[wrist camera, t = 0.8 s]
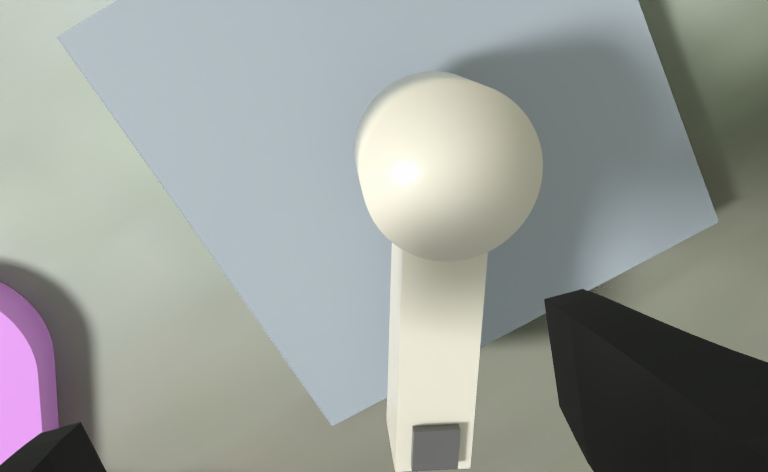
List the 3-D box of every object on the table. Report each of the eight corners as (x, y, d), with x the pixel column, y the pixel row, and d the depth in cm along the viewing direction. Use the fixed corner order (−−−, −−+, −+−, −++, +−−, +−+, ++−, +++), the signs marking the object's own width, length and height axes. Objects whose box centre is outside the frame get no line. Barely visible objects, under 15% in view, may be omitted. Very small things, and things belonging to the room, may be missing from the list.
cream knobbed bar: (354, 69, 15) (362, 79, 13) (513, 72, 16) (552, 82, 13) (352, 416, 19) (357, 481, 16) (483, 411, 19) (510, 474, 16)
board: (696, 211, 21) (823, 274, 15) (331, 405, 22) (335, 525, 17) (528, -239, 16) (628, -363, 11) (73, 36, 17) (-33, 42, 12)
